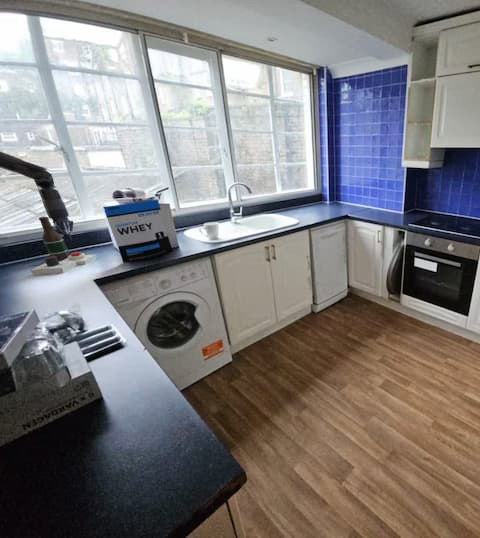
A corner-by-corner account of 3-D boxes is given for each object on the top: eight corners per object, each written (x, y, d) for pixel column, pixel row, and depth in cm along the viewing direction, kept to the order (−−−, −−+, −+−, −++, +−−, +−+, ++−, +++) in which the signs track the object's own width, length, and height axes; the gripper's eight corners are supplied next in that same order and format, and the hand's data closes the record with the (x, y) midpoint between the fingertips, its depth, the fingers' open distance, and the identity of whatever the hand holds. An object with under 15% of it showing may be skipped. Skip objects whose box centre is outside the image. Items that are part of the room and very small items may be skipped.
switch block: (59, 266, 155) (56, 259, 153) (72, 260, 164) (69, 253, 162) (86, 264, 157) (83, 257, 155) (97, 257, 166) (94, 251, 164)
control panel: (33, 275, 144) (30, 269, 143) (48, 268, 153) (45, 262, 152) (63, 272, 146) (61, 267, 145) (77, 265, 155) (74, 260, 154)
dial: (45, 267, 146) (41, 259, 144) (51, 263, 150) (47, 256, 148) (55, 266, 147) (51, 258, 145) (61, 263, 151) (58, 255, 149)
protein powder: (120, 261, 160) (100, 206, 148) (169, 249, 177) (154, 199, 166) (126, 264, 154) (105, 208, 143) (175, 252, 172) (161, 200, 160)
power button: (70, 257, 157) (69, 254, 156) (74, 255, 160) (73, 252, 159) (78, 256, 158) (76, 253, 157) (82, 254, 161) (81, 251, 160)
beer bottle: (71, 255, 170) (53, 215, 161) (70, 259, 165) (52, 217, 155) (53, 259, 166) (33, 217, 156) (51, 262, 160) (31, 219, 151)
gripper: (56, 206, 154) (69, 237, 161) (36, 210, 142) (51, 245, 149) (73, 205, 155) (85, 236, 162) (54, 210, 143) (68, 243, 150)
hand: (69, 240), depth 155 cm, fingers closed
